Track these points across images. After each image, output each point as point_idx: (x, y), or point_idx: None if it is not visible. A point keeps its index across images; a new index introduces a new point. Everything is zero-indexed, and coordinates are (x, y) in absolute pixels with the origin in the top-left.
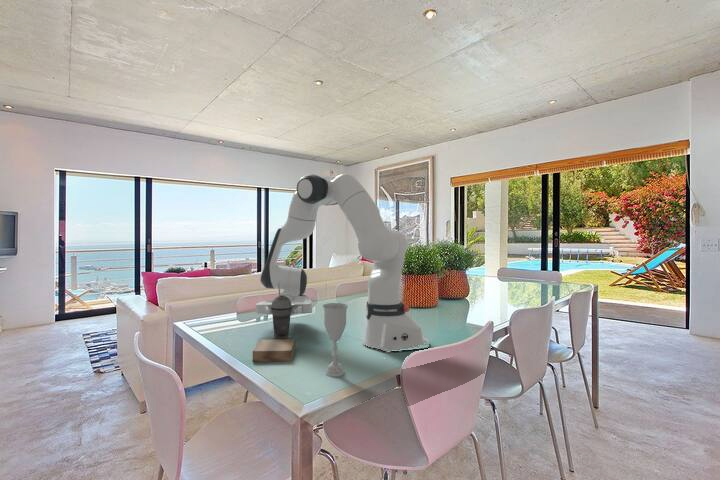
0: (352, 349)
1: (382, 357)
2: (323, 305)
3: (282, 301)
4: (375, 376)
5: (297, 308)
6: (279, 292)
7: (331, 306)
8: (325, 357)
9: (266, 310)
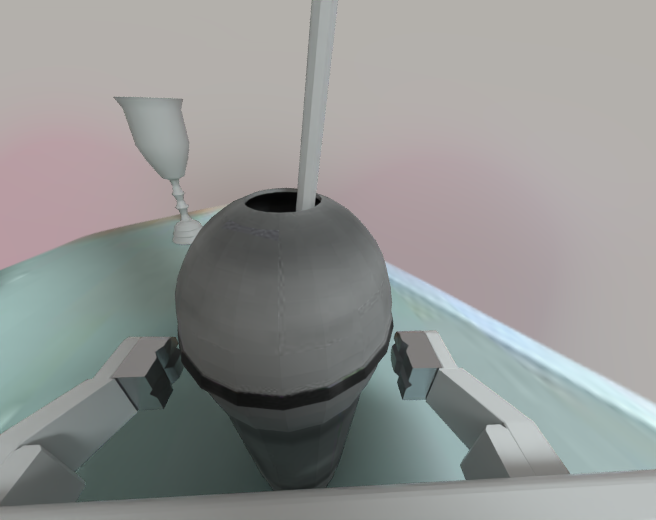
0: (36, 329)
1: (20, 280)
2: (175, 99)
3: (275, 210)
4: (130, 229)
5: (118, 354)
6: (309, 148)
7: (147, 106)
8: (171, 282)
9: (428, 331)
